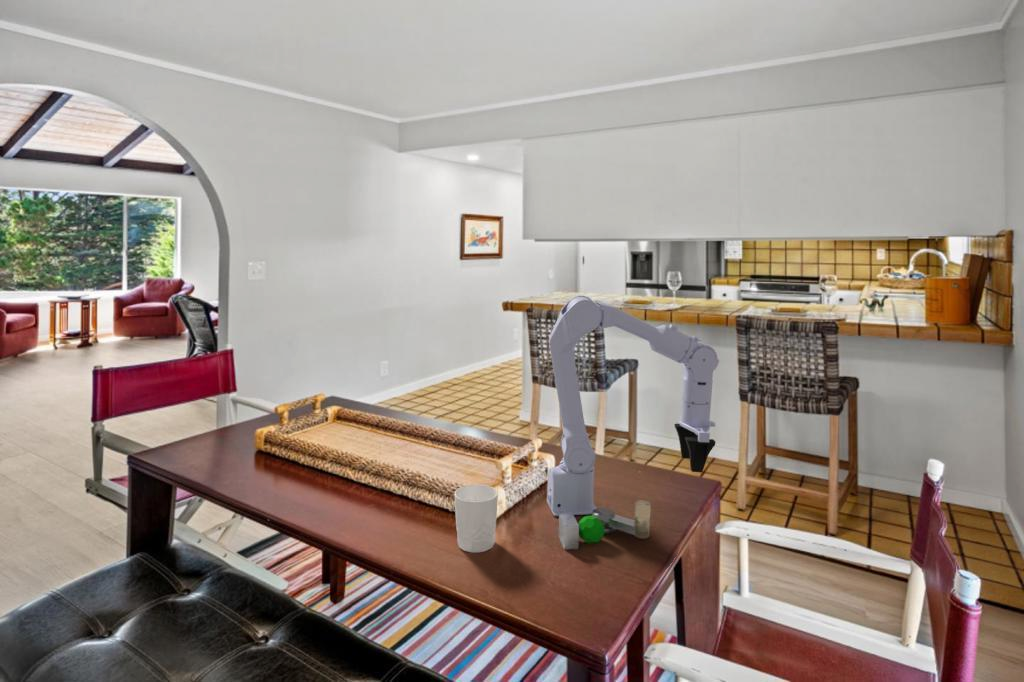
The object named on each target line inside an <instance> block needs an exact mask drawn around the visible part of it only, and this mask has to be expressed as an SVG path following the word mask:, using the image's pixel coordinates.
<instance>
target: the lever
mask: <svg viewBox="0 0 1024 682" xmlns="http://www.w3.org/2000/svg"><path fill="white" fill-rule="evenodd" d="M651 505H652V504H651V502H649V501H647V500H644V499H643V500H641V499H640V500H636V501H635V503H634V516H633V517H634V518H633V519H631V518H628V517H625V516H621V515H618V514H616V512H615V511H614V510H612V509H610V508H606V507H599V508H598V507H596V508H597V509H594V510H593V511H592V514H591V516H592V515H593V516H595V517H596V518H598V519H599V520H601V521H602V522H603V525H604V528H609V527H612V528H615V530H618V531H621V532H624V533H627V534H630V535H633V536H634V537H636V538H638V539H647V538H649V537H650V524H651V523H650V522H651V508H652V507H651Z"/></svg>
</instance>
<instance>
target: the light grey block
mask: <svg viewBox="0 0 1024 682" xmlns="http://www.w3.org/2000/svg"><path fill="white" fill-rule="evenodd" d="M557 535H558V537H557V538H559V540H560V543H561V545H562V547H563V549H564V550H578V549H579V543H580V541H579V538H580V536H579V522H578V521H577V519H576V517H575V515H573V513H571V514H559V516H558V534H557Z"/></svg>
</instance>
